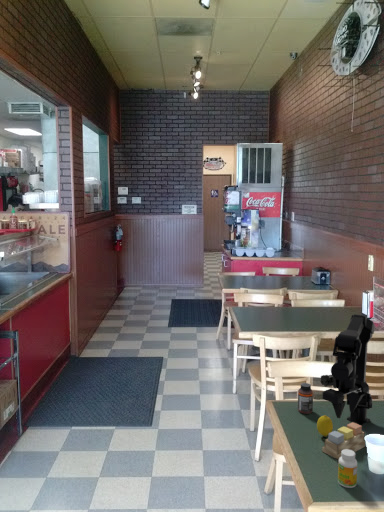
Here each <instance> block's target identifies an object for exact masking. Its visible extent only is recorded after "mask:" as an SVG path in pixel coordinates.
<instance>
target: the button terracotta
mask: <svg viewBox="0 0 384 512" xmlns="http://www.w3.org/2000/svg"><path fill="white" fill-rule="evenodd" d="M346 427H347V428H349V429H351V430H353V435H355V436H356V435H358V434H360V433H361V431H363V430H362V427H363V425H359V424H357V423H355V422H352V421H351V422H350V423H347V424H346Z"/></svg>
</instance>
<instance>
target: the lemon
mask: <svg viewBox="0 0 384 512" xmlns="http://www.w3.org/2000/svg"><path fill="white" fill-rule="evenodd" d="M333 425H334V424H333V421H332V419H331V417H329V416H327V415H326V414H325V415H321V416H320V417H319V418H318V419H317V422H316V429H317V431H318V433H319V434H320V435H321V436H323V437H324V438H325V437H327V436H328V434H329V433H331V432H333V431H334V430H333V429H334V426H333Z"/></svg>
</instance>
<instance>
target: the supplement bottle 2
mask: <svg viewBox="0 0 384 512" xmlns="http://www.w3.org/2000/svg"><path fill="white" fill-rule="evenodd" d="M337 467H338V469H337V483H338V484H339V486H341V487H344V488H348V489H352V488H355V487H356V486H357V482H358V480H357V478H358V461H357V459H356V452H354V451H352V450H349V449H344V450H342V451H341V457H340V458H339V460H338V466H337Z"/></svg>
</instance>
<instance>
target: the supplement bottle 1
mask: <svg viewBox="0 0 384 512" xmlns="http://www.w3.org/2000/svg"><path fill="white" fill-rule="evenodd" d="M313 408H314V391H313V389H312V386H311V384H310V383H307V382H301V383H300V388H298V390H297V412H299V413H300V414H305V415H307V414H312V413H313V410H314V409H313Z"/></svg>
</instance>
